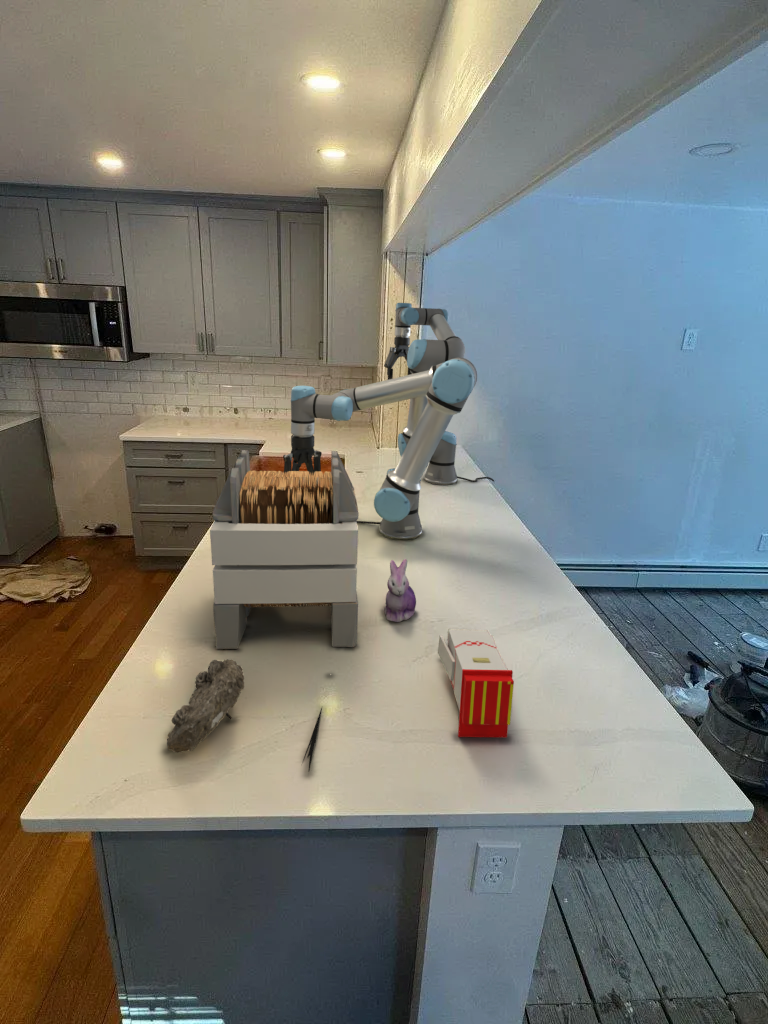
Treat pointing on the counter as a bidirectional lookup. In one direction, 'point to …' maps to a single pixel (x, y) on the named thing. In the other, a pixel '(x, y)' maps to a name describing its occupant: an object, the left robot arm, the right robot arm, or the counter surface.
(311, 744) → the feather
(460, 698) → the toy
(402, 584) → the figurine
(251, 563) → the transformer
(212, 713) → the fossil
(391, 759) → the counter surface
